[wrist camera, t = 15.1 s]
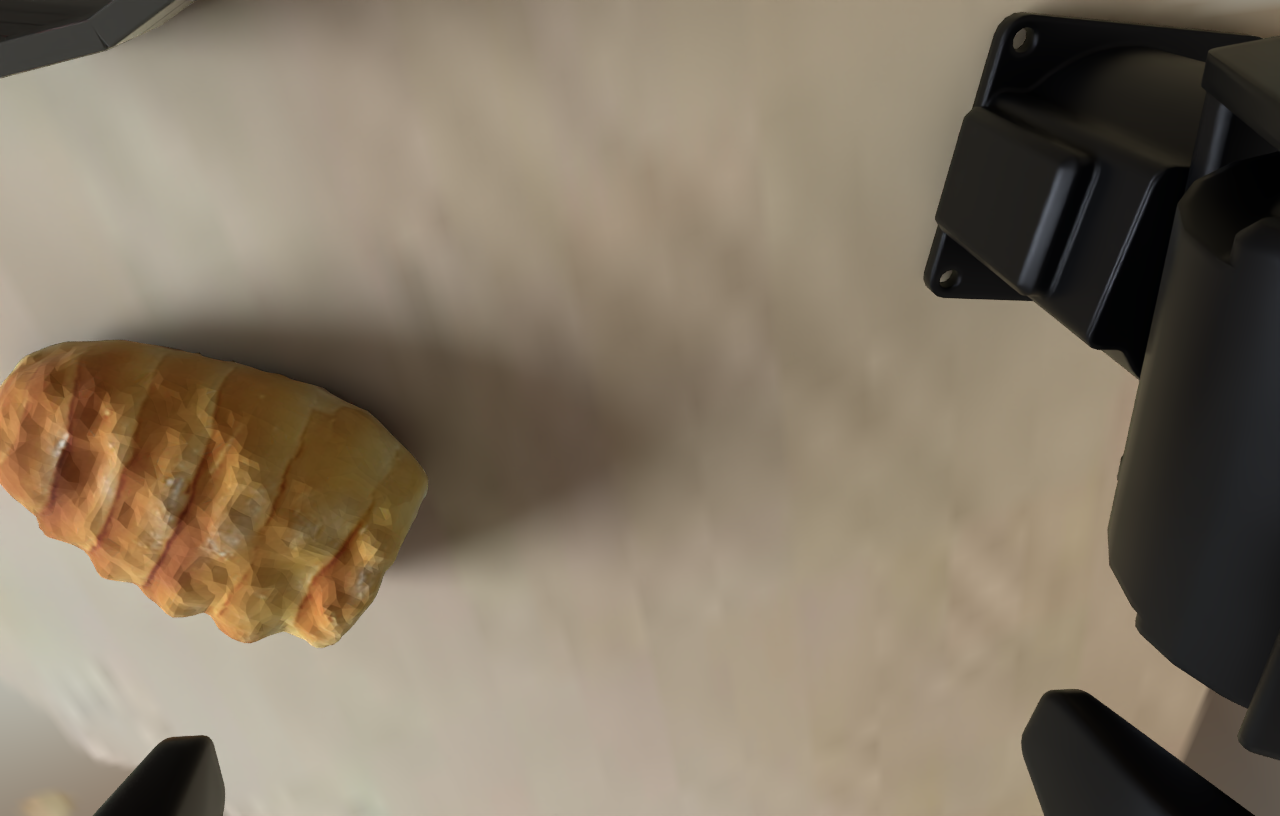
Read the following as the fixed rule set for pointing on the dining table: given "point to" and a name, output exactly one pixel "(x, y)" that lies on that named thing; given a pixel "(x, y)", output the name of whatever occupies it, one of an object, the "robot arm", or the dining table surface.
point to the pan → (73, 28)
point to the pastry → (210, 484)
